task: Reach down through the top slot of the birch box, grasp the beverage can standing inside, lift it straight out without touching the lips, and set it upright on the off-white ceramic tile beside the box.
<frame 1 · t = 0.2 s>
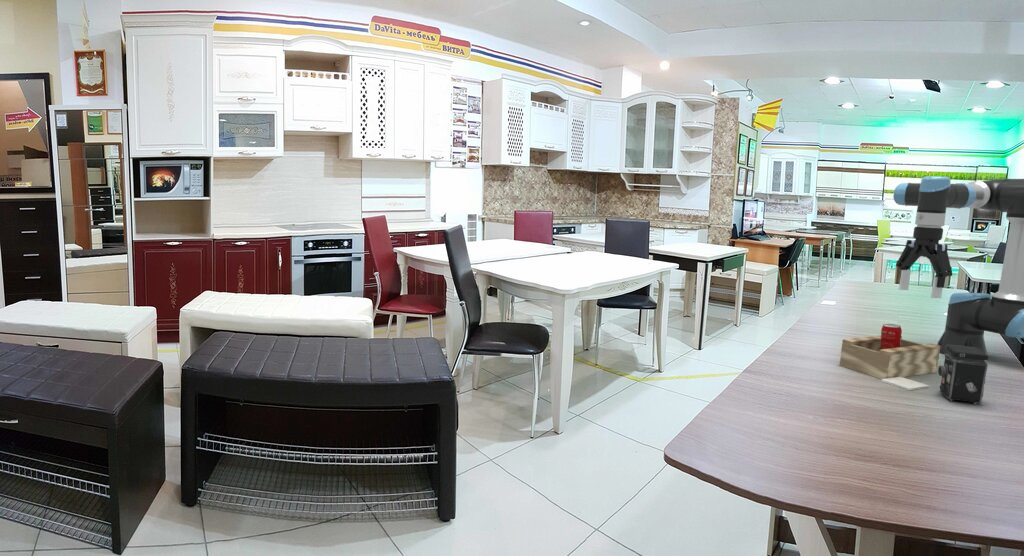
hand: (919, 293, 191), 27 cm above the table, fingers open, 13 cm apart
beverage can: (887, 369, 203), resting in slot box
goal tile: (904, 384, 187), on the table
camera: (957, 398, 176), on the table
slot box: (887, 368, 203), on the table
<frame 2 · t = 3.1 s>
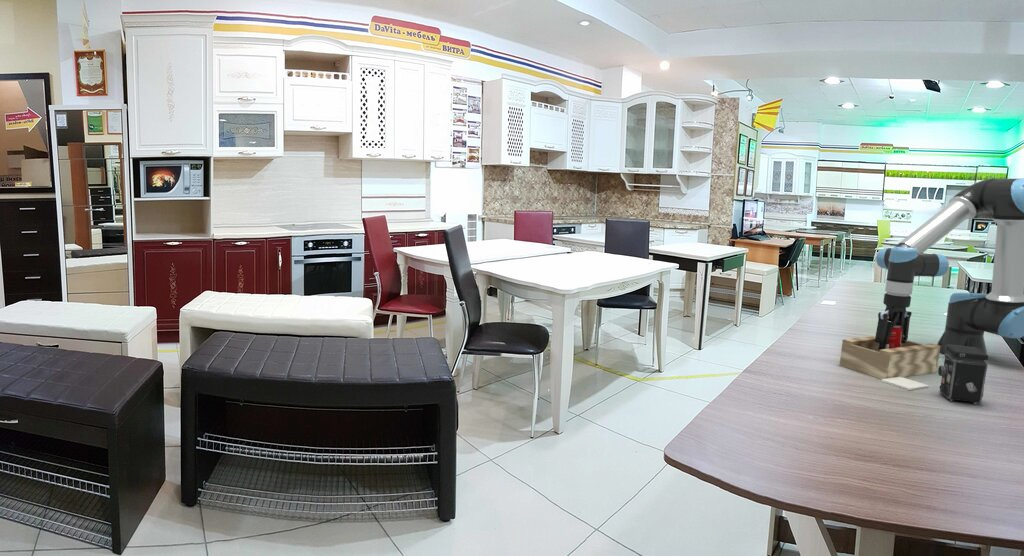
hand: (888, 361, 203), 2 cm above the table, fingers closed on beverage can, 6 cm apart
beverage can: (887, 369, 203), resting in slot box, touching gripper
everything else where it was.
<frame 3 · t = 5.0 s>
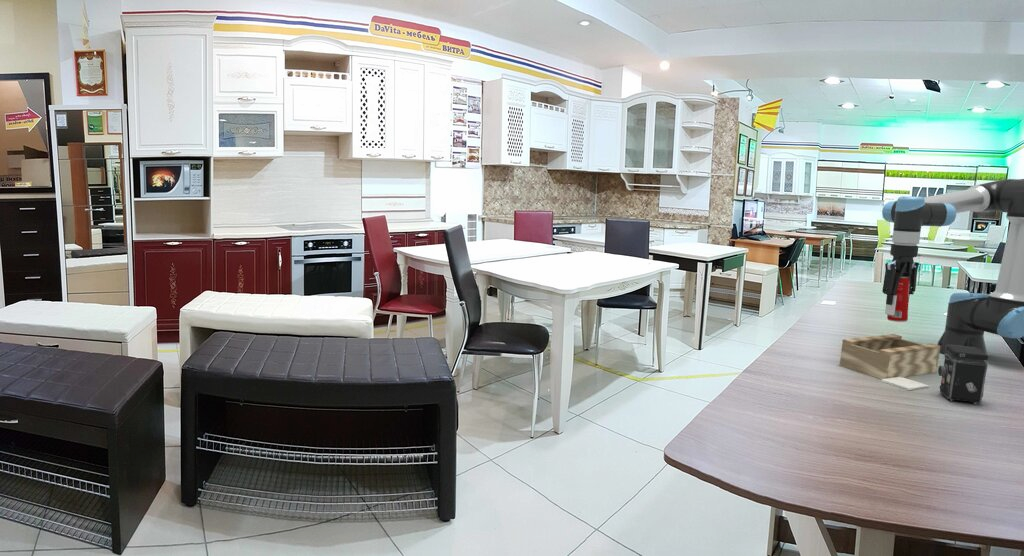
hand: (896, 313, 200), 19 cm above the table, fingers closed on beverage can, 6 cm apart
beverage can: (895, 321, 201), point 16 cm above the table, touching gripper
everything else where it was.
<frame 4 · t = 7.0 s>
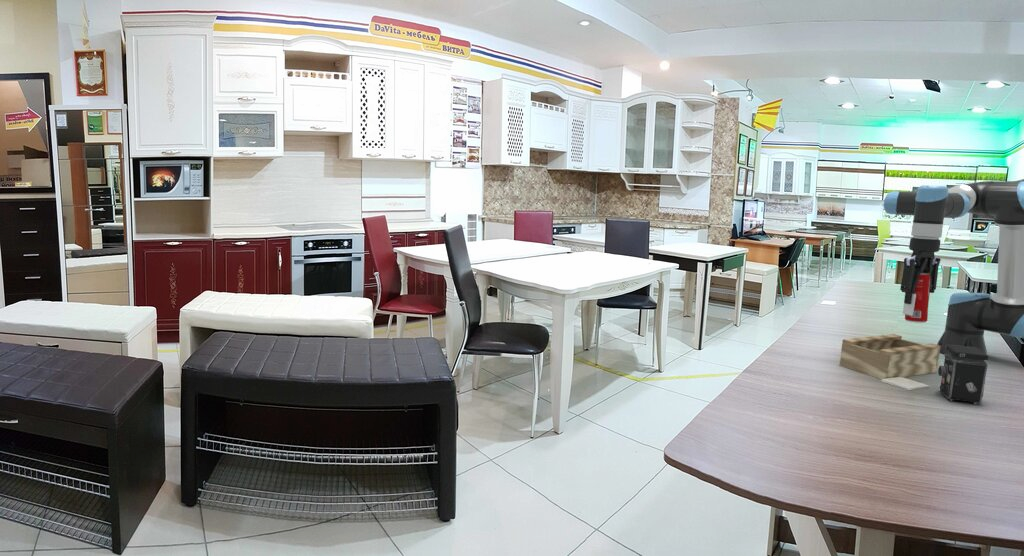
hand: (914, 313, 183), 22 cm above the table, fingers closed on beverage can, 6 cm apart
beverage can: (913, 321, 184), point 20 cm above the table, touching gripper
everything else where it was.
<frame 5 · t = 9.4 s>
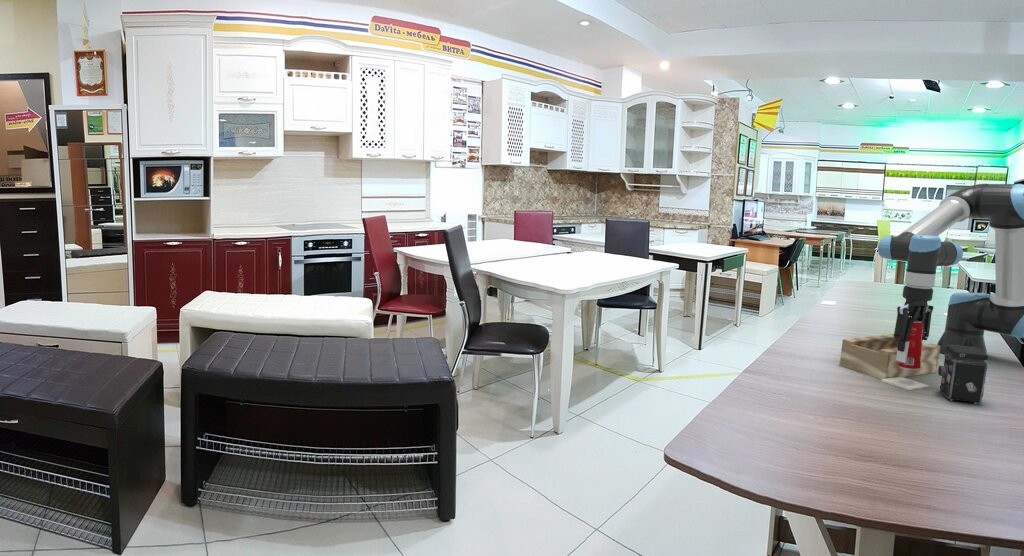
hand: (907, 360, 186), 8 cm above the table, fingers closed on beverage can, 6 cm apart
beverage can: (907, 368, 186), point 5 cm above the table, touching gripper
everything else where it was.
when the fingers open (4 cm above the table, at t = 10.6 s): beverage can stays where it is, resting on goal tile.
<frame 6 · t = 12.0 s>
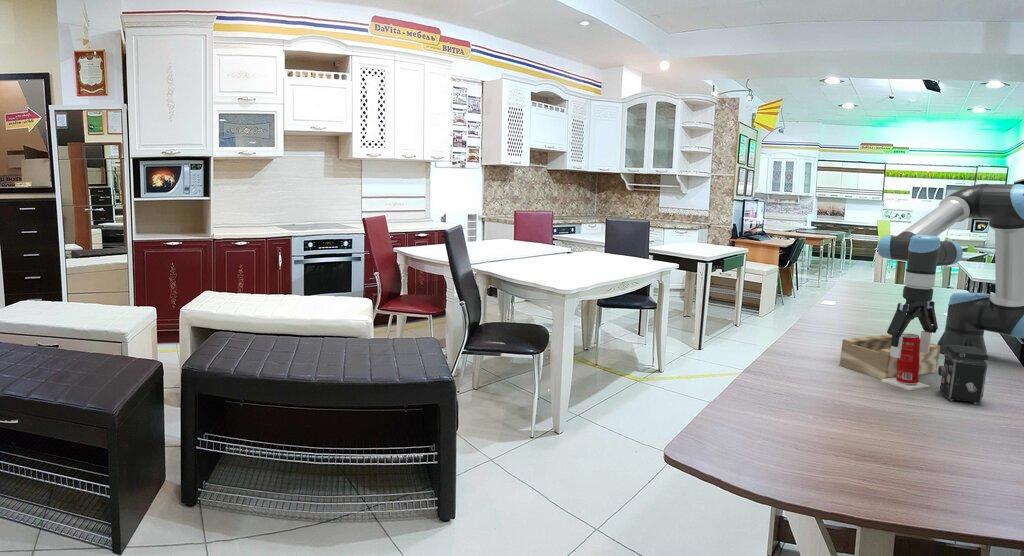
hand: (909, 354, 186), 9 cm above the table, fingers open, 13 cm apart
beverage can: (905, 382, 187), resting on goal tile
everything else where it was.
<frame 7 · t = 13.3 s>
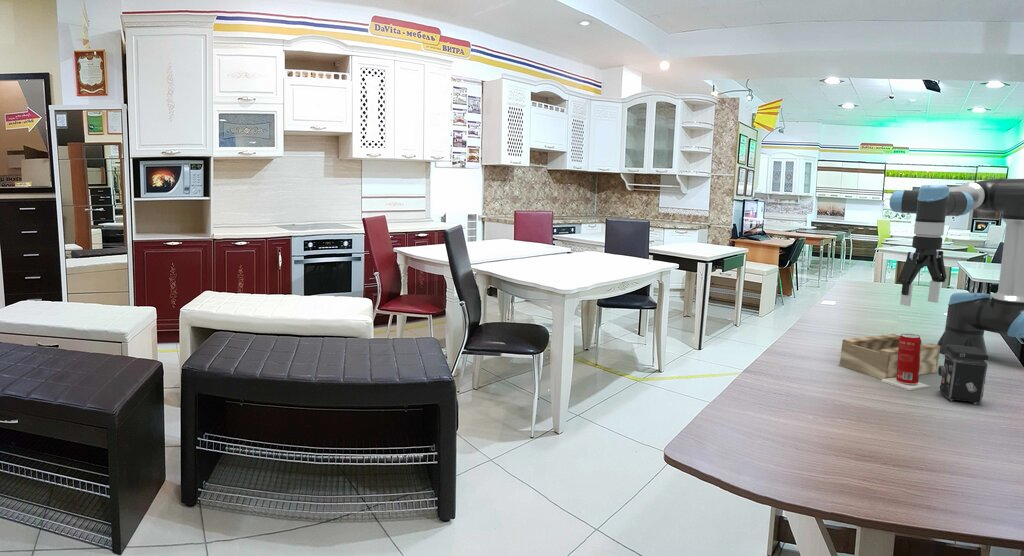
hand: (919, 303, 189), 24 cm above the table, fingers open, 13 cm apart
nothing on the table moved.
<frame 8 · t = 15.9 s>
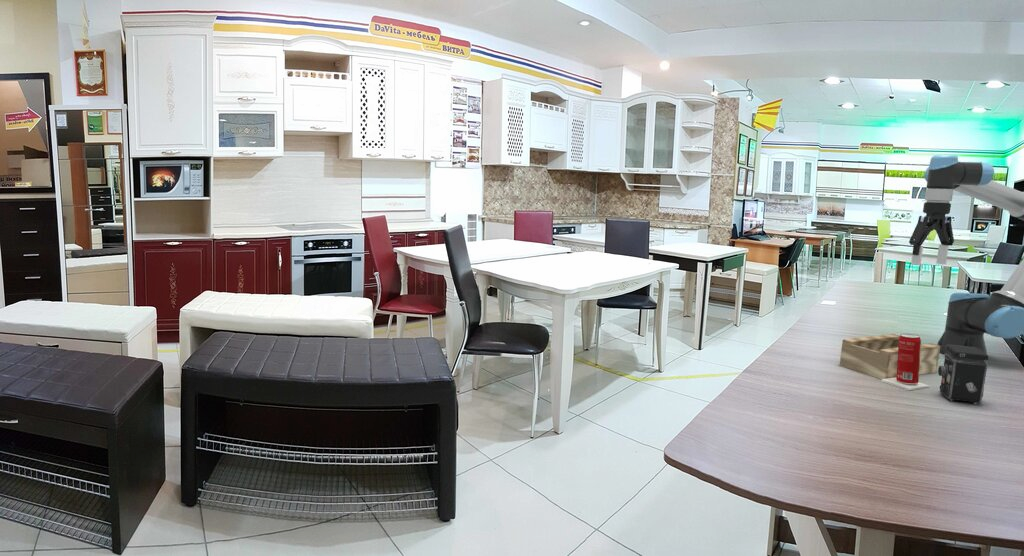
hand: (928, 264, 206), 35 cm above the table, fingers open, 13 cm apart
nothing on the table moved.
at the end: beverage can 0.3 cm from the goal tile (horizontally); beverage can tilted 0°; beverage can resting on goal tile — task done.
